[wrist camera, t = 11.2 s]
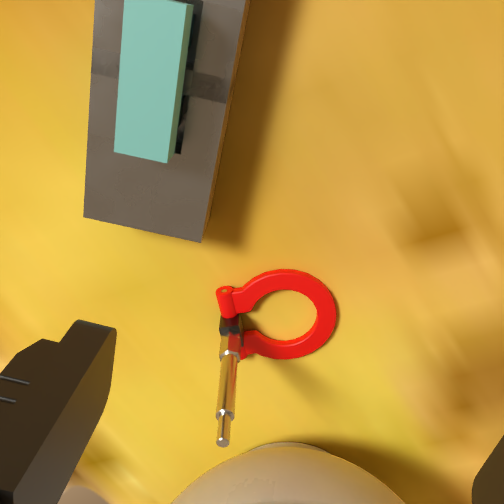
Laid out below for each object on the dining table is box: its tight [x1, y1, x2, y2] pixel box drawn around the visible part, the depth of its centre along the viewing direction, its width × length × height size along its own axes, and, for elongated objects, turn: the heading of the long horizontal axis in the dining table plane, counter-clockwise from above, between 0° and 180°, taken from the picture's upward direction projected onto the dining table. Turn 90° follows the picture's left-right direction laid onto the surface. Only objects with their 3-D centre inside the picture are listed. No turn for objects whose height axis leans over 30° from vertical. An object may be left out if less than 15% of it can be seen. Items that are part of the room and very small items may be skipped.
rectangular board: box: [83, 0, 251, 243], centre depth 29 cm, size 20×8×4 cm, turn 168°
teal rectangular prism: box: [114, 0, 195, 163], centre depth 28 cm, size 8×3×6 cm, turn 169°
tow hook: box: [216, 269, 337, 447], centre depth 34 cm, size 8×13×9 cm
